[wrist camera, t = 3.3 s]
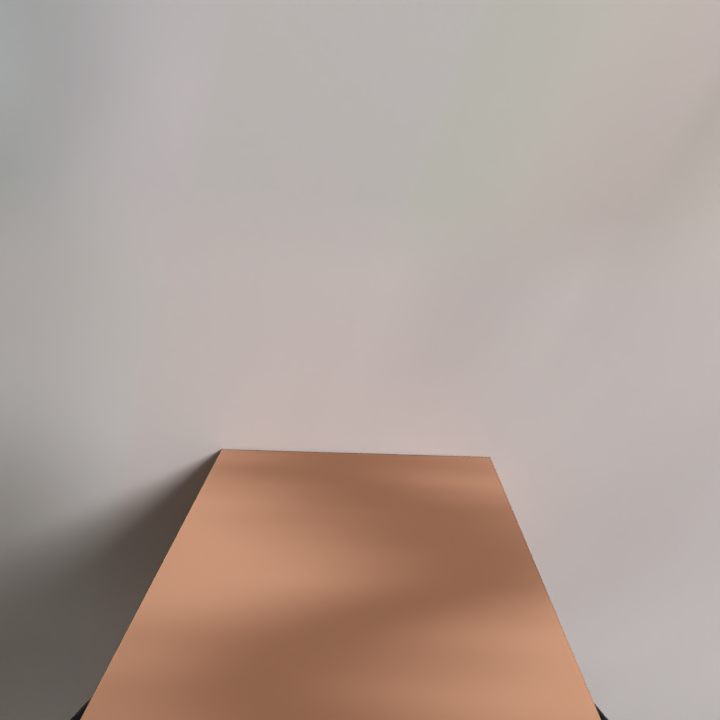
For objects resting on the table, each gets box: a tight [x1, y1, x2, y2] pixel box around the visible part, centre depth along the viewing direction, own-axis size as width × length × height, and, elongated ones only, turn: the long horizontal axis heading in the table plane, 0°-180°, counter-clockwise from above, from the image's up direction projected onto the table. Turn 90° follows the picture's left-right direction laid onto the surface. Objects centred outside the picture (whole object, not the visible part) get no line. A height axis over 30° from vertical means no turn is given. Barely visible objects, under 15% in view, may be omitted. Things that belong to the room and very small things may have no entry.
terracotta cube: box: [80, 450, 601, 720], centre depth 7 cm, size 5×5×6 cm
